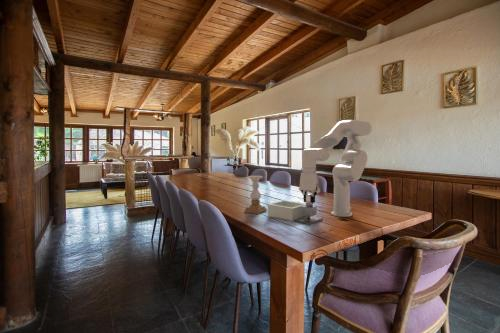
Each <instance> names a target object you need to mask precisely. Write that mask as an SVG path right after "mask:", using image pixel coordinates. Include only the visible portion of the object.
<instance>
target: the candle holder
mask: <svg viewBox="0 0 500 333" xmlns="http://www.w3.org/2000/svg"><path fill="white" fill-rule="evenodd" d="M247 178H248V179H251V181H252V184H251V187H252V191H251V193H250V195H249V197H250V199H251V200H250V203H251V204H250V205H248V206H246V207H245V209H244V213H246V212H247V213H246V214H252V213H253V214H252V215H260V213H261V214H263V213H266V212H268V209H267V207H266V206H264V205H262V204H260V203H261V200H260V199H261V198H262V194H261V193H260V191H259V188H260V185H259V181H260V179H263V178H264V176H263V175H248V176H247Z"/></svg>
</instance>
